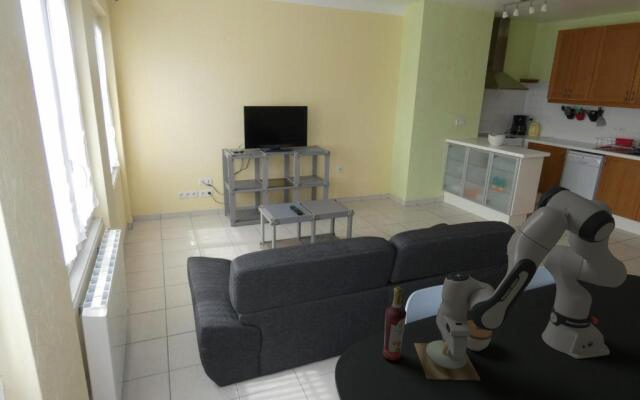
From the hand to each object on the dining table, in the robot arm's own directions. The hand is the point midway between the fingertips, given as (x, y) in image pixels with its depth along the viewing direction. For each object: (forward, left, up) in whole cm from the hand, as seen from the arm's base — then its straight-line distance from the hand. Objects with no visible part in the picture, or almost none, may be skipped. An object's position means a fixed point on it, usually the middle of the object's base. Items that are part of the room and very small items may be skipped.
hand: (447, 350), depth 135 cm
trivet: (0, 0, -5) cm, 5 cm away
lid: (0, 0, -2) cm, 2 cm away
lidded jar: (-14, -9, -5) cm, 18 cm away
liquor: (+19, -2, -5) cm, 20 cm away
